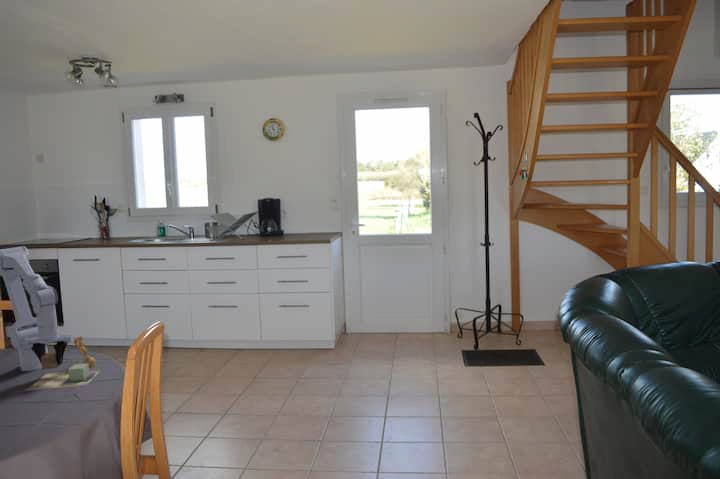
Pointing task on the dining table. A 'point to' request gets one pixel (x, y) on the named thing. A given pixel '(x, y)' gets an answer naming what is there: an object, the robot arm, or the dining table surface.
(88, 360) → the figurine
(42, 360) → the walnut block
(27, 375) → the dining table surface
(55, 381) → the baseplate
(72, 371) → the sage block
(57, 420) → the dining table surface
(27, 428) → the dining table surface
